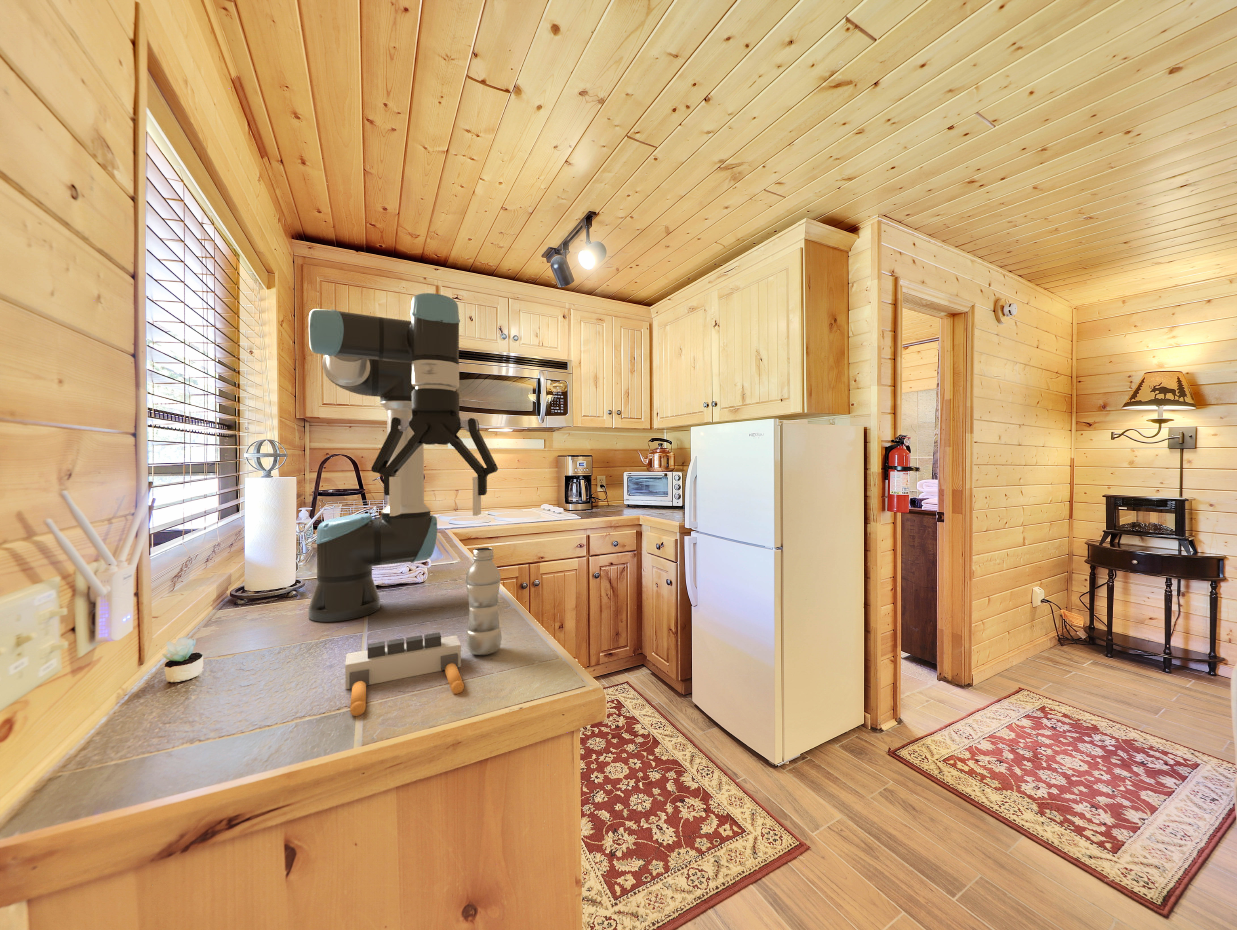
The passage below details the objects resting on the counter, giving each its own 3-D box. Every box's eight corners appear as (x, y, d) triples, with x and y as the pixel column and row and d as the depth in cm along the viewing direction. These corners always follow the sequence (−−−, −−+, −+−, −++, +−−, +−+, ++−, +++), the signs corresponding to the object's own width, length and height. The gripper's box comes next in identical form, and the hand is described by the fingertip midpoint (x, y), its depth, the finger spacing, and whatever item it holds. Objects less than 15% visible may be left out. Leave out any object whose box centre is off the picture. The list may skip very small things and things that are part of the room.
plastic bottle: (492, 661, 87) (492, 553, 87) (459, 657, 89) (458, 551, 88) (507, 647, 94) (507, 546, 93) (476, 644, 95) (475, 545, 95)
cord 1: (352, 692, 76) (352, 680, 76) (366, 689, 77) (366, 677, 77) (349, 720, 68) (349, 706, 68) (365, 716, 69) (365, 703, 69)
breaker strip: (347, 676, 81) (346, 643, 81) (456, 656, 89) (456, 625, 89) (345, 691, 76) (344, 655, 76) (461, 668, 84) (461, 636, 84)
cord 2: (444, 674, 82) (444, 662, 82) (456, 671, 83) (456, 660, 83) (451, 697, 74) (451, 685, 74) (464, 694, 75) (464, 682, 75)
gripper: (348, 385, 75) (349, 518, 76) (506, 387, 77) (506, 517, 77) (370, 391, 83) (370, 512, 83) (514, 393, 84) (514, 512, 85)
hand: (436, 515), depth 80 cm, fingers open, 13 cm apart
